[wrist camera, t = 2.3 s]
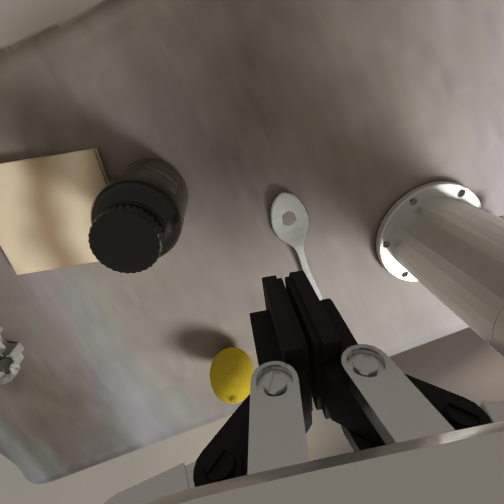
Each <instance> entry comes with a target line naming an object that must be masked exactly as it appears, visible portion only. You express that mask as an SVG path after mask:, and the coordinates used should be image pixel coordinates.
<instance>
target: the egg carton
mask: <svg viewBox="0 0 504 504" xmlns="http://www.w3.org/2000/svg"><path fill="white" fill-rule="evenodd" d="M2 330H3V329H2V328H1V327H0V333H1V332H2ZM23 349H24V347H23V346H22V345H21V344H20V343H19V342H18V343H9V342H7V341H5V340H3V339H2V337H1V335H0V355H1V356H6V358H3V359H1V360H0V385H1V384H5V383H8V382H10V381H12V379H13V378H14V377H15V376H16V374H17V373H18V371H19V370H20V369H21V367H20V365H19V364H20V362H21V361H22V360H23V359H24V356H23V355H22V351H23ZM8 356H10V357H11V358H10V357H8Z"/></svg>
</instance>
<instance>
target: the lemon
mask: <svg viewBox="0 0 504 504" xmlns="http://www.w3.org/2000/svg"><path fill="white" fill-rule="evenodd" d="M253 373H254V367H253V364H252V361H251V359H250V357H249V356H248V354H247V353H246V352H244V351H243V350H241V349H239V348H235V347H229V348H226V349H223V350H222V351H220V352H219V353H218V354H217V355H216V356H215V358H214V360H213V361H212V364H211V369H210V380H211V385H212V388H213V391H214V393H215V394H216V396H217V397H218V398H219V399H220V400H221V401H223V402H225V403H229V404H236V403H239V402H242V401H243V400H245V399H246V398H247V396H248V395H249V394H250V383H251V377H252V374H253Z"/></svg>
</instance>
